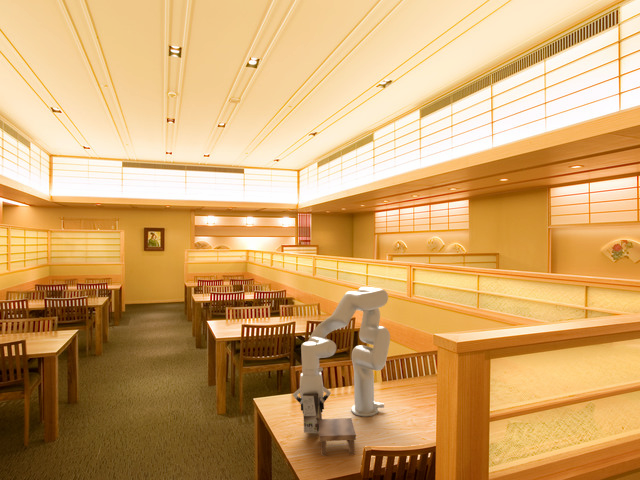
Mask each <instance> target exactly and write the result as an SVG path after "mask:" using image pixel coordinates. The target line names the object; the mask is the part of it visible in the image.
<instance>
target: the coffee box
mask: <svg viewBox="0 0 640 480" xmlns="http://www.w3.org/2000/svg"><path fill="white" fill-rule="evenodd" d="M320 401H321V400H320V399H319V397H318V393H312V394H303V411H302V415H303V432H304V433H307V434H317V435H318V434H319V419H323V415H322V414H323V412H321V404H320Z"/></svg>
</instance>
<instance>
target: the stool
mask: <svg viewBox="0 0 640 480" xmlns="http://www.w3.org/2000/svg"><path fill="white" fill-rule="evenodd" d="M318 435H319V436H318V437H319V442H320V448H321V449H320V451H321V453H320V454H321V456H322V457H323V456H324V457H325V456H327V442H333V441H335V442H337V441H338V442H339V441H349V442H348V450H349V451H348V452H349V456H352V455H353V456H354V455H355V441H356V439H357V434H356V430H355V426H354V422H353V419H352V417H351V418H350V417H349V418H347V417H346V418H322V419H319V432H318Z"/></svg>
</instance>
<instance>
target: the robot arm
mask: <svg viewBox="0 0 640 480" xmlns="http://www.w3.org/2000/svg"><path fill="white" fill-rule="evenodd" d="M388 301H389V295H388V292H387V291H386V290H385V289H383V288H378V287H371V286H370V287H369V286H362V287H359V288H358V289H357V290H349V291H346V292H345V294H343V296H342V298H341V300H340V301H339V302H338V304H337V306H336V308H335V309H334V311H333V312H332V314H331V315H330V316H328V317H327V318H325V319H324V320H322V322H320V323H319V324H318V325H316V327H315V328H314V330H313V331H312V332H311V333H310V334H311V335H310V336H309V337H308V338H309V339H308V340H307V341H305V342H303V343H301V346H300V349H301V350H300V351H301V352H300V353H301V371H302V372H301V373H300V375H299V376H300V377H299V388H298V389H297V390H296V391H294V392H293V394H292V396H293V398H294V399H295V400H296V401H297V402H298V403H299V404H300V411H301V412H303V394H312V393H318V397H319V399H320V400H321V401H320V404H321V412H322V413H323V410H324V409H325V402H326V400H327V399H328V398H329V397H330V395H331V391H330V390H329V389H328V388H326V387H325V386H324V380H323V375H322V372H323V371H324V369H323V367H321V366H320V359H321V358H329V357H332V356H334V355H335V354H336V352H337V344H336V343H335V342H334V341H333V340H331V339H330V338H329V339H328V338H326V337H327V335H328V334H330V333H332V332H333V331H336V330H339V329H343V328H346V327H347V326H348V325H349V323H350V321H351V320H352V318H353V316H354V314H356V311H360V312H362V317H361V324H360V329H359V333H358V336H359V337H358V338H359V340H360V341H361V342H362V343H365V344H368V345H372V346H373V347H371V346H368V345H363V344H361V345H360V344H359V345H356V346H355V347H354V348H353V349H352V352H351V362H352V366H353V367H352V368H353V382H354V383H353V384H354V385H353V387H354V390H353V391H354V396H353V397H354V404H353V405H352V406H351V413H352V414H353V415H355V416H359V417H373V416H375V415H377V413H378V409H382V408H383V409H384V408H385V403H382V402H381V401H375V387H374V385H375V382H374V381H375V375H374V374H375V373H374V371H381V370H382V369H384V367H385V365H386V363H387V358H388V353H389V350H390V349H389V348H390V344H391V343H390V342H391V334H390V331H389V329H388V328H387V327H385V326H382V325H380V321H381V320H380V319H381V311H380V308H382V307H384V306H386V305H387V303H388ZM324 393H325V394H324Z"/></svg>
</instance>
